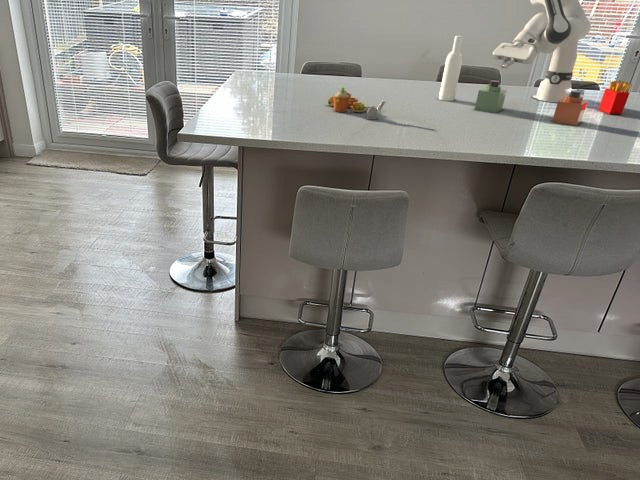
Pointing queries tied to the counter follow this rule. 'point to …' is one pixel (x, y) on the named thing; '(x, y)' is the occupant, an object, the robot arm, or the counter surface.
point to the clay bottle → (569, 110)
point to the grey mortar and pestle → (374, 111)
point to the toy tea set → (345, 102)
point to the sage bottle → (490, 99)
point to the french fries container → (615, 98)
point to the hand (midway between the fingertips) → (503, 67)
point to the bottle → (451, 72)
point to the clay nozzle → (575, 94)
